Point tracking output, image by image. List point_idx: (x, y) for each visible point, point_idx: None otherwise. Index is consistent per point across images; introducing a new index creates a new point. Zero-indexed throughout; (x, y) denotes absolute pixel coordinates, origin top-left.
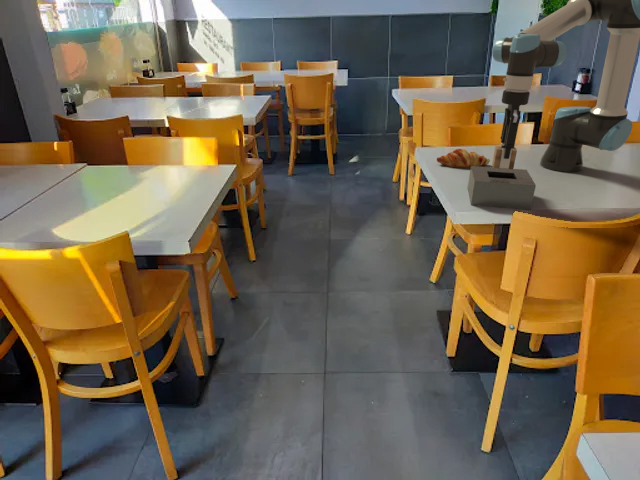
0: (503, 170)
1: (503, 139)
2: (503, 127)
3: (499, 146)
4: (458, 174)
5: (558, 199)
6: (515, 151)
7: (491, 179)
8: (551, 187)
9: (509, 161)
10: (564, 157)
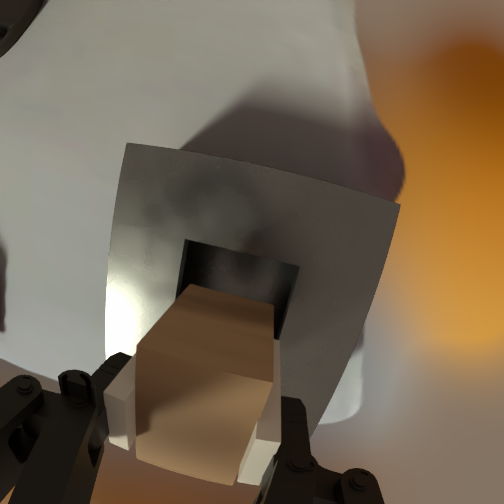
0: (144, 279)
1: (97, 461)
2: (4, 497)
3: (139, 443)
4: (37, 315)
5: (251, 51)
6: (270, 388)
7: (296, 387)
8: (130, 42)
9: (279, 369)
10: (10, 3)
